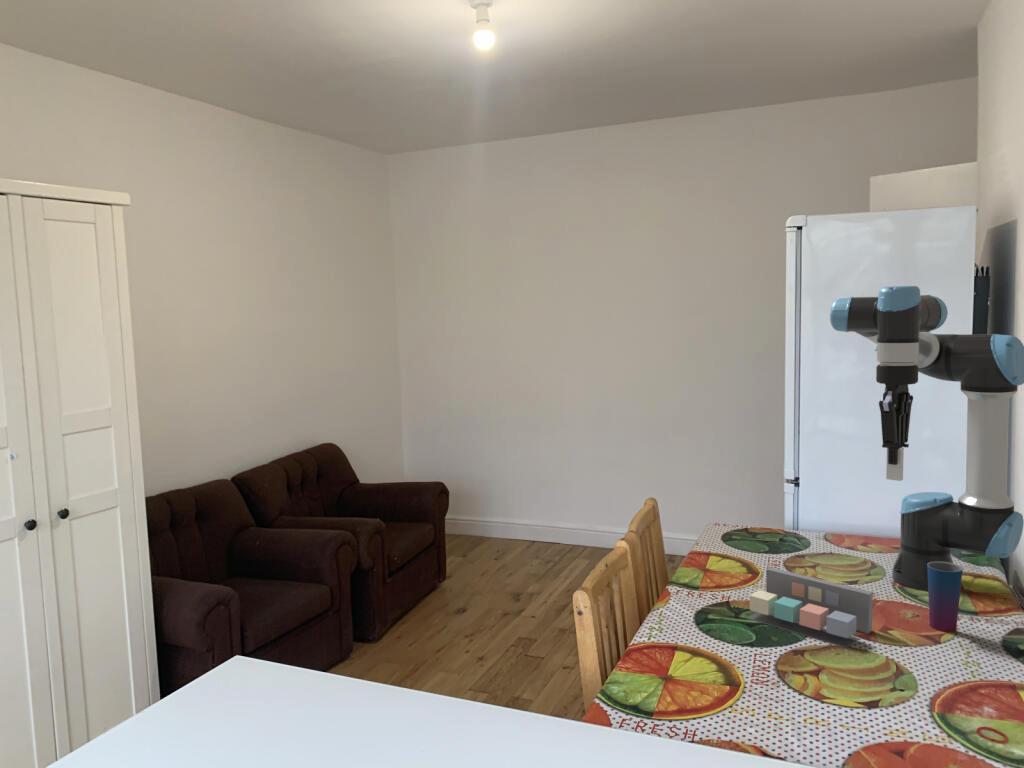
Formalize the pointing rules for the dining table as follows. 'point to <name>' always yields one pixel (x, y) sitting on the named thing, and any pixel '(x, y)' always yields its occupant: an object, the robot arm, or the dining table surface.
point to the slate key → (841, 624)
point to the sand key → (762, 602)
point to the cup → (944, 595)
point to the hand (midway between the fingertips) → (894, 479)
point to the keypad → (818, 603)
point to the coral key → (814, 616)
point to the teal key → (787, 609)
